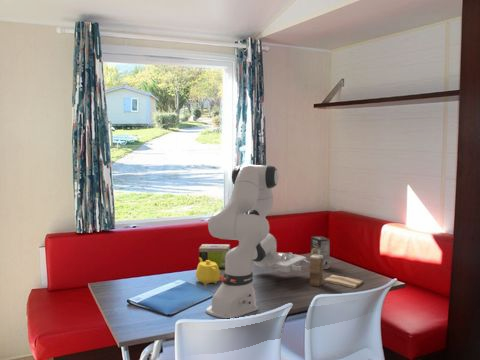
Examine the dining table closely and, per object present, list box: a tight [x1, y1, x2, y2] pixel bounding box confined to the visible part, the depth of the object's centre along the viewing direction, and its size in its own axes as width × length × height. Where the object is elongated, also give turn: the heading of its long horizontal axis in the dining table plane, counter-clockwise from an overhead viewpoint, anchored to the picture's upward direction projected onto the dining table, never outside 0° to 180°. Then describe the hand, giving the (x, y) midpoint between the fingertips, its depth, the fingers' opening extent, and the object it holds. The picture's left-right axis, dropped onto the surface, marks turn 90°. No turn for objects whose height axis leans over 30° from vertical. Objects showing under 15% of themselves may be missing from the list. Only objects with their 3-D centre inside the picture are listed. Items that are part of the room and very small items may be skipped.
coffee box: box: [310, 235, 331, 270], centre depth 256 cm, size 9×6×16 cm
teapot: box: [195, 256, 220, 286], centre depth 231 cm, size 18×11×11 cm, turn 29°
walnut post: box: [309, 254, 324, 287], centre depth 227 cm, size 4×4×14 cm
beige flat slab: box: [323, 274, 364, 289], centre depth 231 cm, size 10×16×1 cm, turn 54°
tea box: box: [198, 243, 231, 276], centre depth 244 cm, size 15×10×15 cm, turn 84°
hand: (305, 266), depth 230 cm, fingers open, 8 cm apart
